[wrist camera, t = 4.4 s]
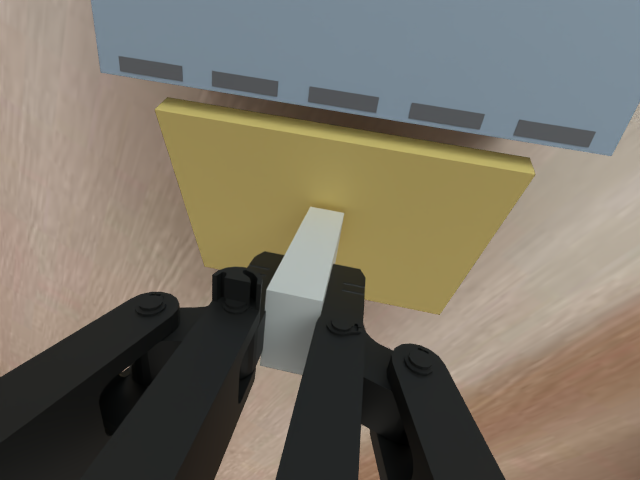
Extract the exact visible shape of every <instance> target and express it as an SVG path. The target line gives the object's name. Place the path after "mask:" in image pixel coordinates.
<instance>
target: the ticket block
mask: <svg viewBox="0 0 640 480" xmlns="http://www.w3.org/2000/svg"><path fill="white" fill-rule="evenodd" d="M91 4H92V12H93V19H94V26H95V34H96V41H97V48H98V56H99V63H100V71H101V73H107V74H113V75H119V76H125V77H131V78H137V79H143V80H150V81H156V82H162V83H168V84H174V85H180V86H186V87H192V88H198V89H205V90H211V91H217V92H223V93H229V94H235V95H241V96H247V97H253V98H260V99H266V100H272V101H278V102H284V103H290V104H296V105H302V106H308V107H315V108H321V109H327V110H333V111H339V112H345V113H351V114H357V115H363V116H370V117H376V118H382V119H388V120H394V121H400V122H406V123H412V124H418V125H424V126H431V127H437V128H443V129H449V130H455V131H461V132H467V133H473V134H479V135H486V136H492V137H498V138H504V139H510V140H516V141H522V142H528V143H534V144H541V145H547V146H553V147H559V148H565V149H571V150H577V151H583V152H589V153H596V154H602V155H608V156H612V154H613V152H614V150H615V148H616V146H617V144H618V143H619V141H620V139H621V137H622V135H623V133H624V131H625V129H626V127H627V125H628V123H629V121H630V119H631V118H632V116H633V114H634V112H635V110H636V108H637V106H638V104H639V102H640V0H91Z"/></svg>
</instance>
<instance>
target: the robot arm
mask: <svg viewBox="0 0 640 480" xmlns="http://www.w3.org/2000/svg"><path fill="white" fill-rule="evenodd" d="M343 218H344V213H342V212H336V211H331V210H326V209H320V208H315V207H310V208H309V210H308V212H307V214H306V216H305V218H304V220H303V221H302V223H301V225H300V227H299V229H298V231H297V233H296V235H295V237H294V238H293V240H292V242H291V244H290V246H289V248H288V250H287V252H286V254H285V255H281V254H276V253H271V252H266V251H264V252H262V253H260V254H259V255H257V256H255V257H254V258H253V260H252V261H251V262H250V264H249V266H248V267H247V268H246V267H227V268H224V269H221V270H218V271H217V272H216V273H214V274H213V275H212V302H211V303H210V305H209V306H206V307H195V308H179V302H178V300H177V298H176V297H174V296H173V295H171V294H168V293H164V292H149V293H144V294H140V295H138V296H136V297H134V298H131V299H130V300H128V301H126V302H125V303H123V304H121V305H120V306H118V307H116V308H115V309H113V310H111V311H110V312H108V313H106V314H105V315H103V316H101V317H100V318H98V319H97V320H95V321H93V322H92V323H90V324H88V325H87V326H85V327H83V328H82V329H80V330H78V331H77V332H75V333H73V334H72V335H70V336H68V337H67V338H65V339H63V340H62V341H60V342H58V343H57V344H55V345H53V346H52V347H50V348H48V349H47V350H45V351H43V352H42V353H40V354H38V355H37V356H35V357H33V358H32V359H30V360H28V361H27V362H25V363H23V364H22V365H20V366H18V367H17V368H15V369H13V370H12V371H10V372H8V373H7V374H5V375H3V376H2V377H0V480H214V479H215V476H216V474H217V471H218V469H219V466H220V464H221V461H222V459H223V457H224V454H225V452H226V449H227V447H228V444H229V442H230V439H231V437H232V434H233V432H234V429H235V427H236V424H237V422H238V419H239V417H240V415H241V412H242V410H243V407H244V405H245V402H246V400H247V397H248V395H249V392H250V390H251V387H252V385H253V382H254V379H255V372H256V365H257V362H258V360H259V358H260V355H261V360H260V366H265V367H269V368H274V369H278V370H282V371H287V372H291V373H296V374H300V375H302V379H301V383H300V387H299V391H298V395H297V398H296V402H295V406H294V410H293V414H292V418H291V422H290V426H289V430H288V433H287V437H286V441H285V445H284V449H283V453H282V457H281V461H280V465H279V468H278V472H277V476H276V480H358V473H359V453H360V433H361V424H362V425H364V426H366V427H367V428H369V429H370V436H371V441H372V445H373V449H374V454H375V458H376V463H377V467H378V472H379V476H380V480H505V478H504V476H503V474H502V472H501V470H500V468H499V466H498V464H497V463H496V461H495V459H494V457H493V455H492V453H491V451H490V449H489V447H488V445H487V444H486V442H485V440H484V438H483V436H482V434H481V432H480V430H479V428H478V426H477V425H476V423H475V421H474V419H473V417H472V415H471V413H470V411H469V409H468V408H467V406H466V404H465V402H464V400H463V398H462V396H461V394H460V392H459V390H458V389H457V387H456V385H455V383H454V381H453V379H452V377H451V375H450V373H449V371H448V370H447V368H446V366H445V364H444V363H443V361H442V360H441V359H440V357H439V356H438V355H436V354H435V353H434V352H432V351H431V350H429V349H427V348H425V347H423V346H420V345H416V344H401V345H400V346H398V347H396V348H395V349H394V351H393V350H390V349H388V348H386V347H384V346H382V345H380V344H379V343H377V342H375V341H374V340H373V339H372V338H370V336H369V335H368V334H367V333H366V331H365V328H364V325H363V315H364V298H365V296H364V295H365V280H366V278H365V276H364V274H363V273H362V271H361V269H357V268H352V267H347V266H342V265H337V264H335V262H336V256H337V251H338V245H339V240H340V234H341V229H342V223H343ZM128 366H130V367H129V368H127V367H128ZM126 368H127V369H126ZM125 369H126V370H125ZM123 370H125V371H123ZM122 371H123V372H122Z"/></svg>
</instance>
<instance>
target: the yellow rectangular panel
mask: <svg viewBox="0 0 640 480" xmlns="http://www.w3.org/2000/svg"><path fill="white" fill-rule="evenodd" d="M155 112H156V115H157V119H158V122H159V125H160V128H161V131H162V134H163V137H164V141H165V144H166V147H167V150H168V153H169V156H170V159H171V162H172V166H173V169H174V172H175V175H176V178H177V181H178V184H179V188H180V191H181V194H182V197H183V200H184V203H185V206H186V210H187V213H188V216H189V219H190V222H191V225H192V228H193V231H194V235H195V238H196V241H197V244H198V247H199V250H200V253H201V257H202V260H203V263H204V266H205V267H210V268H215V269H219V270H221V269H224V268H227V267H246V268H247V267H248V266H249V264H250V262H251V261H252V260H253V258H254V257H255V256H257V255H259V254H260V253H262V252H264V251H266V252H271V253H276V254H281V255H285V254H286V252H287V250H288V248H289V246H290V244H291V242H292V240H293V238H294V237H295V235H296V233H297V231H298V229H299V227H300V225H301V223H302V221H303V220H304V218H305V216H306V214H307V212H308V210H309V208H310V207H315V208H320V209H326V210H331V211H336V212H342V213H344V218H343V223H342V229H341V234H340V240H339V245H338V251H337V256H336V262H335V264H337V265H342V266H347V267H352V268H357V269H361V271H362V273H363V274H364V276H365V278H366V280H365V295H364V296H365V298H364V299H365V300H370V301H375V302H380V303H384V304H389V305H394V306H399V307H404V308H409V309H414V310H418V311H423V312H428V313H433V314H438V315H440V314H441V312H442V311H443V309H444V308H445V306H446V305H447V303H448V302H449V300H450V299H451V297H452V296H453V295H454V293H455V292H456V290H457V289H458V287H459V286H460V284H461V283H462V281H463V280H464V278H465V277H466V275H467V274H468V273H469V271H470V270H471V268H472V267H473V265H474V264H475V262H476V261H477V259H478V258H479V256H480V255H481V254H482V252H483V251H484V249H485V248H486V246H487V245H488V243H489V242H490V240H491V239H492V237H493V236H494V235H495V233H496V232H497V230H498V229H499V227H500V226H501V224H502V223H503V221H504V220H505V218H506V217H507V215H508V214H509V213H510V211H511V210H512V208H513V207H514V205H515V204H516V202H517V201H518V199H519V198H520V196H521V195H522V194H523V192H524V191H525V189H526V188H527V186H528V185H529V183H530V182H531V180H532V179H533V177H534V176H535V172H534V169H533V166H532V163H531V160H530V158H528V157H522V156H516V155H510V154H504V153H498V152H492V151H486V150H480V149H474V148H468V147H462V146H456V145H450V144H444V143H438V142H432V141H426V140H420V139H414V138H408V137H402V136H396V135H390V134H384V133H378V132H372V131H366V130H360V129H354V128H348V127H342V126H336V125H330V124H324V123H318V122H312V121H306V120H300V119H294V118H288V117H282V116H276V115H270V114H264V113H258V112H252V111H246V110H240V109H234V108H228V107H222V106H216V105H210V104H204V103H198V102H192V101H186V100H180V99H174V98H168V97H167V98H166V99H165V100H164V101H163V102H162V103H161V104H160V105H159V106H158V107H157V108H156V109H155Z"/></svg>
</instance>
